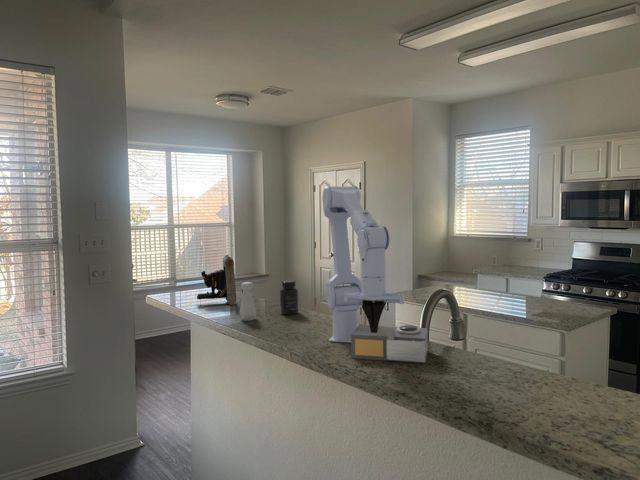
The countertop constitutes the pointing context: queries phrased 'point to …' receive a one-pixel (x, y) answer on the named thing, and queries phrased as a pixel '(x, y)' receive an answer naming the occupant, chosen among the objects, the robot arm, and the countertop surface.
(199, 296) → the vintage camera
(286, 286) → the supplement bottle
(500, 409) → the countertop surface
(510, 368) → the countertop surface
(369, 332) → the camera housing
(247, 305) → the salt shaker
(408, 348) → the side door
